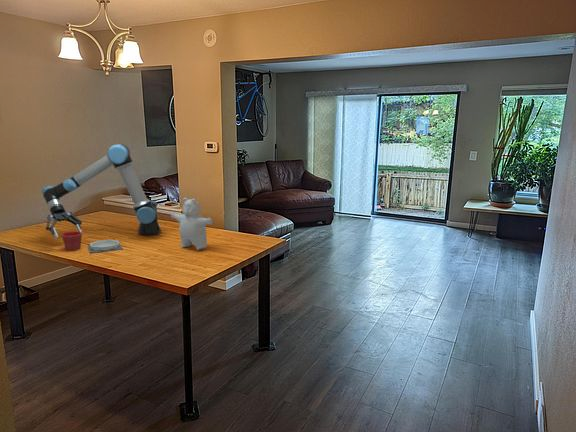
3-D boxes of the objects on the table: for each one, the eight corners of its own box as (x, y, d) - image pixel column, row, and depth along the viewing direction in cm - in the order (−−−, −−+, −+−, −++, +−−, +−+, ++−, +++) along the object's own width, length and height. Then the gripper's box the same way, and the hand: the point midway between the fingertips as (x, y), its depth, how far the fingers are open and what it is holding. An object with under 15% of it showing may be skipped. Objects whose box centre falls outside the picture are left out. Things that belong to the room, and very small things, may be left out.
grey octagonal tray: (118, 242, 258) (118, 238, 257) (123, 249, 243) (122, 245, 242) (87, 245, 249) (87, 241, 248) (90, 253, 234) (89, 249, 233)
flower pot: (87, 248, 244) (85, 232, 242) (69, 252, 235) (68, 236, 233) (76, 245, 249) (75, 230, 247) (59, 249, 240) (57, 234, 238)
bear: (163, 246, 251) (160, 196, 245) (180, 241, 263) (178, 193, 257) (205, 255, 234) (204, 202, 227) (221, 249, 246) (220, 198, 240)
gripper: (75, 209, 259) (88, 235, 253) (32, 214, 240) (45, 243, 234) (78, 202, 255) (91, 228, 248) (35, 207, 236) (48, 236, 230)
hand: (69, 235), depth 241 cm, fingers open, 13 cm apart
